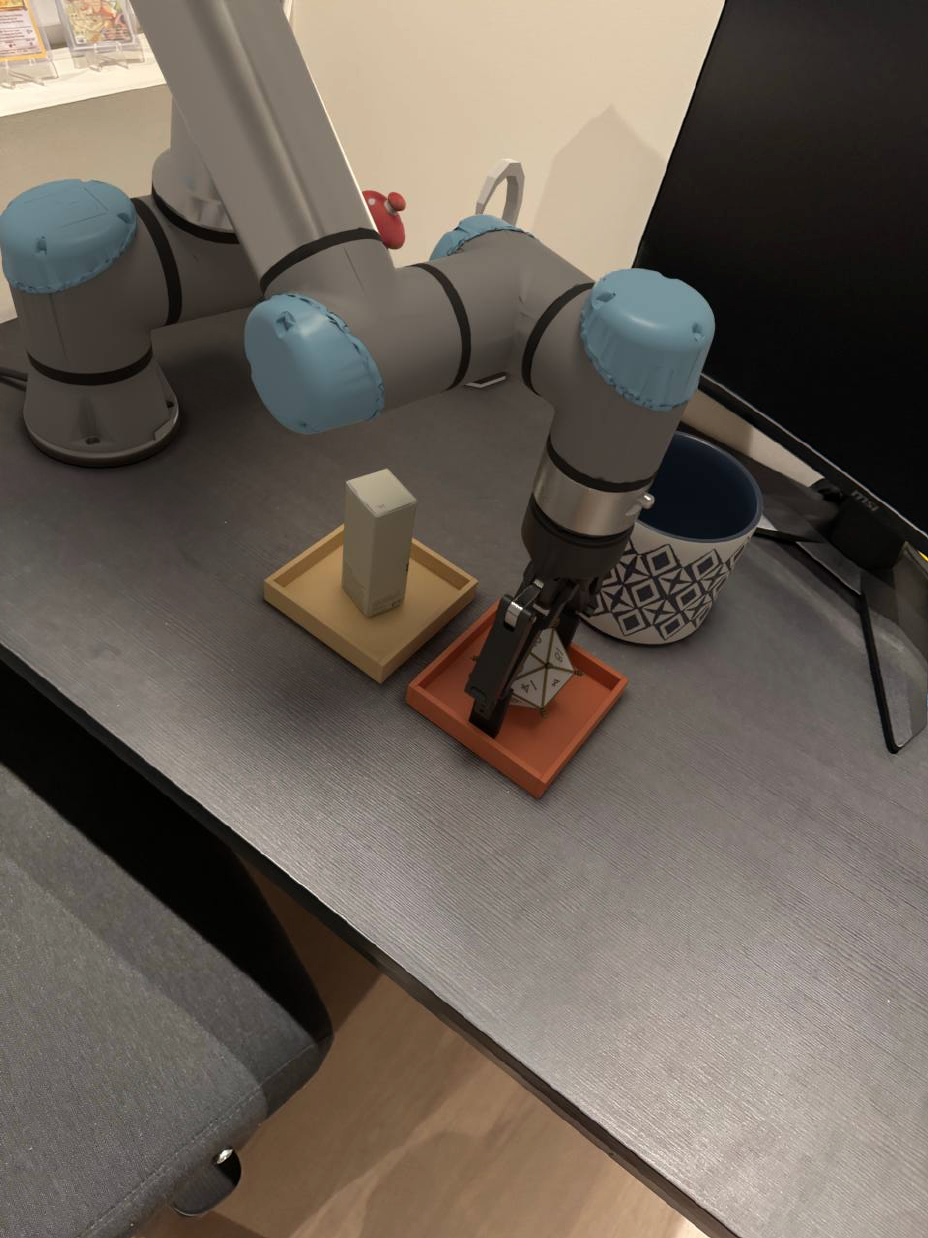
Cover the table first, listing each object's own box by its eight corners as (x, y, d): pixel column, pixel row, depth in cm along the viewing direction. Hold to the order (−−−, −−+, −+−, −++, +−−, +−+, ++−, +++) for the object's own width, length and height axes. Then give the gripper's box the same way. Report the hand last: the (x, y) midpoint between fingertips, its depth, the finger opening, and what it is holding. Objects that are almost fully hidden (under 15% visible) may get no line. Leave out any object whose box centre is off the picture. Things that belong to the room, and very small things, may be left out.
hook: (486, 398, 105) (529, 193, 86) (410, 365, 107) (436, 157, 88) (523, 359, 112) (571, 162, 93) (451, 328, 114) (484, 129, 96)
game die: (524, 730, 77) (572, 739, 67) (444, 689, 75) (482, 692, 65) (563, 643, 79) (616, 640, 69) (487, 600, 76) (530, 591, 67)
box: (405, 604, 80) (421, 502, 70) (365, 620, 78) (377, 518, 68) (376, 567, 82) (388, 465, 73) (337, 583, 80) (343, 479, 71)
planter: (545, 530, 91) (579, 420, 80) (683, 537, 94) (734, 432, 83) (570, 645, 81) (613, 538, 70) (724, 650, 83) (788, 547, 73)
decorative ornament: (406, 307, 116) (419, 196, 105) (368, 318, 113) (377, 205, 101) (365, 275, 120) (373, 165, 109) (327, 285, 116) (332, 172, 105)
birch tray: (264, 599, 78) (263, 580, 76) (364, 525, 87) (366, 507, 85) (380, 684, 74) (383, 666, 72) (474, 598, 83) (478, 580, 81)
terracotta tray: (404, 702, 73) (408, 684, 71) (497, 613, 82) (502, 596, 80) (538, 799, 69) (545, 783, 67) (621, 696, 78) (629, 679, 76)
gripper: (542, 622, 50) (477, 801, 67) (701, 459, 64) (614, 642, 80) (443, 557, 52) (405, 746, 69) (617, 413, 66) (549, 601, 83)
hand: (517, 690), depth 75 cm, fingers closed on game die, 10 cm apart
